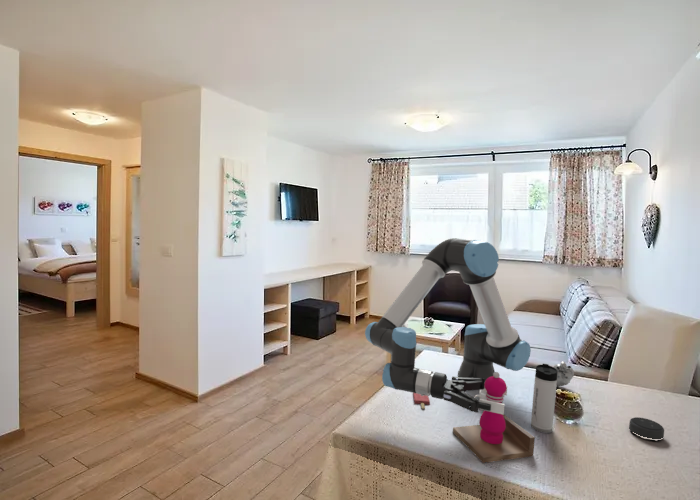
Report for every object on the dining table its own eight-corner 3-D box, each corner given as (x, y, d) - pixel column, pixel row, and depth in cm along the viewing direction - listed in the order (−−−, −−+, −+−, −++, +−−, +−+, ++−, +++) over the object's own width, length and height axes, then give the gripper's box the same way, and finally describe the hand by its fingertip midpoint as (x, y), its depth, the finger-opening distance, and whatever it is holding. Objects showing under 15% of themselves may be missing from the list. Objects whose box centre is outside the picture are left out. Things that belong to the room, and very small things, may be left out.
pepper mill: (474, 432, 122) (479, 367, 121) (497, 432, 123) (502, 367, 121) (484, 445, 115) (489, 376, 114) (509, 445, 116) (514, 377, 114)
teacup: (495, 402, 147) (497, 388, 147) (505, 412, 139) (507, 397, 139) (469, 402, 146) (470, 387, 146) (477, 412, 138) (479, 397, 138)
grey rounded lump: (575, 386, 165) (572, 356, 165) (576, 394, 156) (572, 363, 156) (548, 385, 169) (544, 356, 170) (547, 392, 161) (543, 362, 161)
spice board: (497, 427, 129) (499, 410, 128) (533, 456, 114) (534, 437, 113) (452, 432, 124) (453, 414, 124) (483, 463, 109) (484, 443, 109)
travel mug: (550, 425, 132) (556, 365, 130) (553, 435, 126) (559, 372, 124) (529, 421, 134) (534, 362, 132) (531, 430, 128) (537, 368, 126)
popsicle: (415, 405, 139) (412, 387, 154) (415, 410, 139) (412, 391, 154) (431, 407, 138) (426, 388, 153) (431, 411, 138) (426, 392, 153)
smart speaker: (646, 443, 123) (648, 431, 123) (621, 428, 132) (623, 417, 132) (670, 442, 125) (672, 429, 125) (644, 427, 134) (645, 415, 134)
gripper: (439, 381, 137) (507, 395, 128) (421, 412, 114) (501, 432, 106) (441, 360, 136) (508, 372, 128) (423, 386, 114) (503, 404, 105)
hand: (505, 399), depth 117 cm, fingers open, 13 cm apart
